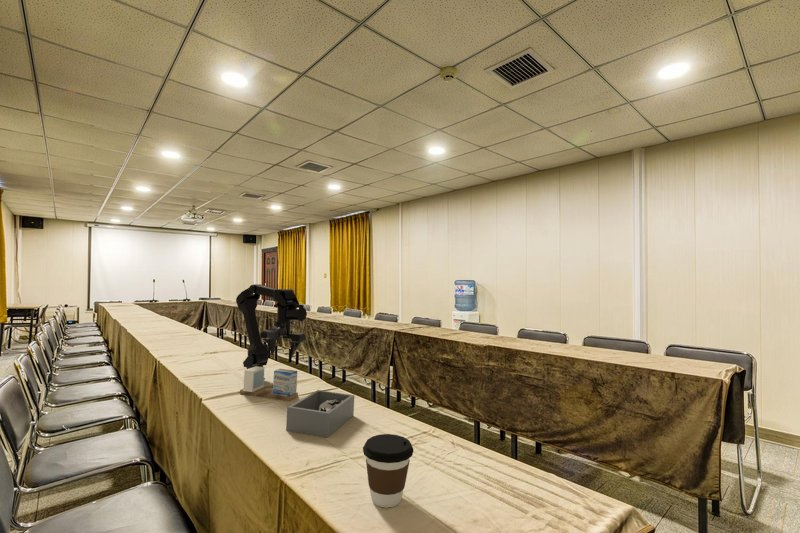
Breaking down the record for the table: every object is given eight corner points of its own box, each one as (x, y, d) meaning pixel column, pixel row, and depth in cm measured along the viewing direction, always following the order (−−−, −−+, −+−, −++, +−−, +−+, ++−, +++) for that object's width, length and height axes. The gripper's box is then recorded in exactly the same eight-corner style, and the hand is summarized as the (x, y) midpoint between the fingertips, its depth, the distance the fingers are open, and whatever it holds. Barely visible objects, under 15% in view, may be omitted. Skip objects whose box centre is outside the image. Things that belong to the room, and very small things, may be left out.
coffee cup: (410, 486, 88) (412, 433, 88) (413, 516, 77) (415, 455, 77) (362, 485, 87) (364, 432, 88) (358, 515, 76) (361, 454, 77)
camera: (324, 417, 128) (323, 391, 127) (345, 420, 126) (345, 393, 125) (303, 435, 115) (302, 406, 115) (326, 439, 113) (325, 409, 113)
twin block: (243, 390, 148) (244, 370, 148) (255, 386, 154) (256, 366, 154) (252, 392, 146) (253, 371, 147) (264, 387, 153) (265, 367, 153)
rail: (239, 393, 149) (240, 389, 149) (249, 389, 154) (250, 385, 154) (289, 401, 142) (289, 396, 142) (297, 396, 148) (298, 392, 148)
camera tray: (286, 430, 116) (287, 407, 116) (316, 410, 134) (317, 390, 134) (327, 437, 112) (328, 413, 112) (353, 415, 130) (354, 395, 130)
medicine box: (272, 393, 145) (273, 370, 146) (279, 390, 150) (280, 368, 150) (290, 396, 143) (291, 372, 143) (296, 392, 147) (297, 370, 148)
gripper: (252, 319, 155) (250, 357, 155) (292, 322, 149) (290, 362, 149) (269, 316, 166) (267, 352, 165) (307, 319, 160) (305, 357, 160)
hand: (282, 356), depth 160 cm, fingers open, 9 cm apart
